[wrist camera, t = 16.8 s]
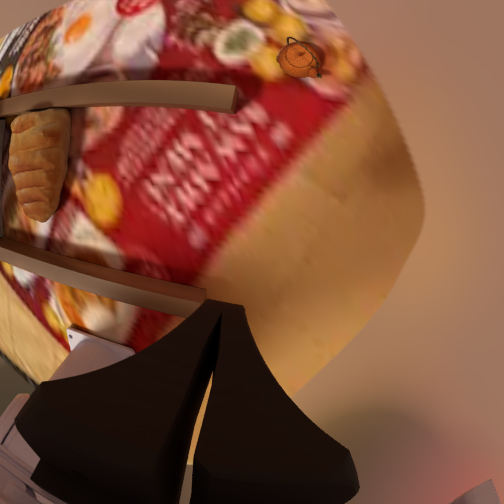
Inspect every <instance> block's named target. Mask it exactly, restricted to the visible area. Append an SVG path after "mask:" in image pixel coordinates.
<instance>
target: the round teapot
mask: <svg viewBox="0 0 504 504" xmlns="http://www.w3.org/2000/svg"><path fill="white" fill-rule="evenodd" d="M289 38H291V39H293V40H295V41H296V42H294V43H290V44H289ZM276 60H277V62H278V63H279V64H280V67H281V68H282V70H283V71H284V72H286V73H287V74H289V75H291V76H293V77H298V78H304V77H313V78H316V77H317V78H319V79H320V78H322V76H321V74H320V73H319V72H318V71H317V70H318V68H319V67H320V59H319V55H318V53H317V52H316V50H315V49H314V48H313V47H311V46H310V45H308V44H305V43H301V42H299V41H298V40H296V39H294V38H293V37H287V45H286V46H284V47H283V48H282V49H281V50H280V51H279V52H278V54H277V58H276Z"/></svg>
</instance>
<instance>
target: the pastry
mask: <svg viewBox="0 0 504 504" xmlns="http://www.w3.org/2000/svg"><path fill="white" fill-rule="evenodd" d="M11 129H12V136H11V143H10V148H9V154H10V155H9V169H10V171H11V173H12V176H13V180H14V183H15V186H16V194H17V197H18V199H19V202H20V204H21V206H22V208H23V211H24V213H25V214H26V215H27V216H28V217H30V218H32V219H34V220H38V221H39V222H46V221H47V220H48V219H49V218H50V217H51V215H52V214H53V213H54V212H55V211H56V209H57V208H58V205H59V202H60V192H61V189H62V186H63V182H64V179H65V177H66V174H67V171H68V164H67V161H68V153H69V144H70V132H71V117H70V114H69V111H68V110H67V109H66V108H51V109H48V110H44V111H39V112H32V113H26V114H21V115H19V116H18V117H16V118H15V119H14V120H13V121H12V123H11Z"/></svg>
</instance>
